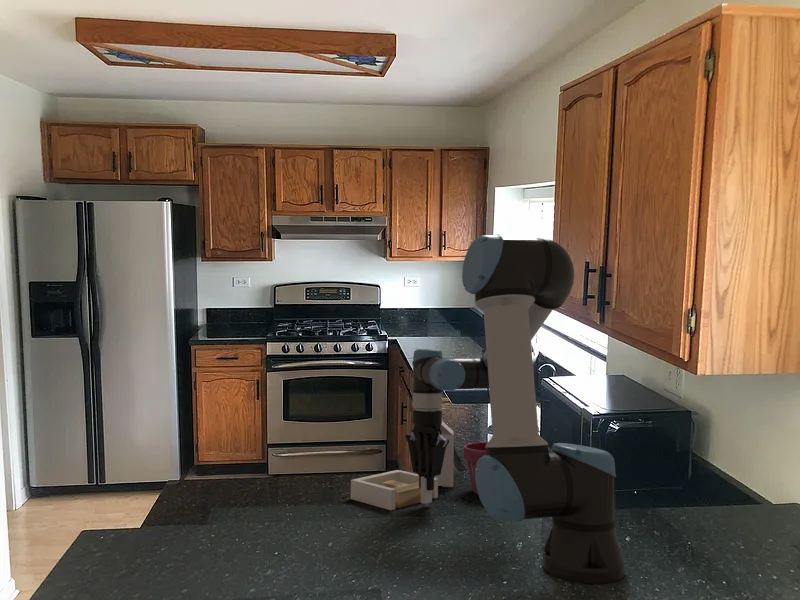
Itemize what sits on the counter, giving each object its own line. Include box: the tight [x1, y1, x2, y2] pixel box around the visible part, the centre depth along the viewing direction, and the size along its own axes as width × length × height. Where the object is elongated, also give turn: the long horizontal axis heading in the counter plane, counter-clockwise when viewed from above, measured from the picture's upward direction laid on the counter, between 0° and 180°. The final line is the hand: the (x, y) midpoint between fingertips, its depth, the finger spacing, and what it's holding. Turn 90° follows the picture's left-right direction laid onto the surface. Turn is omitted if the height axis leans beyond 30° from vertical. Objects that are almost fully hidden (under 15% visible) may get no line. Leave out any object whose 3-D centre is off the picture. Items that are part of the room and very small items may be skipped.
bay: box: [350, 469, 439, 511], centre depth 174 cm, size 15×18×5 cm
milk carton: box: [434, 420, 455, 488], centre depth 190 cm, size 7×7×19 cm
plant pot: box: [463, 441, 489, 495], centre depth 182 cm, size 14×14×13 cm
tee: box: [382, 480, 421, 509], centre depth 172 cm, size 10×12×4 cm
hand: (426, 502), depth 165 cm, fingers closed
